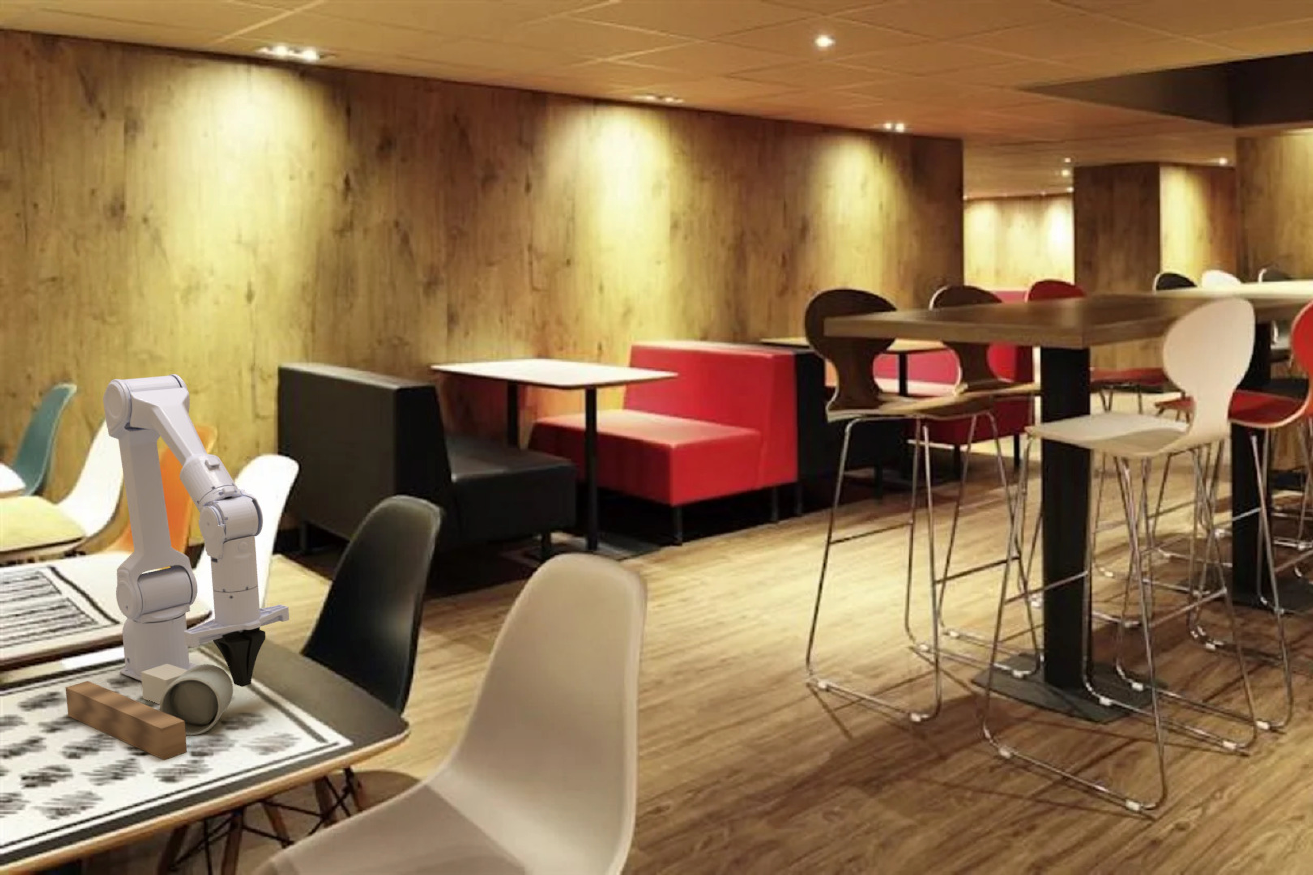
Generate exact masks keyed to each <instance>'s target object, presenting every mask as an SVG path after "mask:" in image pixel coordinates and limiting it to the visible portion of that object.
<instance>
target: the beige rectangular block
mask: <svg viewBox="0 0 1313 875" xmlns="http://www.w3.org/2000/svg"><path fill="white" fill-rule="evenodd" d="M186 671H187V670H185V669H182V668H179V667H176V666H173V665H170V664H165V665H161V666H158V667H155V668H152V669H149V670H145V671H142V672H141V680H142V681H141V689H142V690H141V691H142V698H143V699H144V700H146V701H149V700H150V701H149V702H151V701H153V702H152V703H154V702H155V704H158V705H160V700H161V698H162V695H163V693H164V691H165V690H166V689H167V687H168V686H169V685H170V684H171V683H173V682H174V681H175V680H176V679H178V678H179V677H180V676H181V675H182V674H183V673H185V672H186Z"/></svg>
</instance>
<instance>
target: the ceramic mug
mask: <svg viewBox="0 0 1313 875" xmlns="http://www.w3.org/2000/svg"><path fill="white" fill-rule="evenodd" d="M197 665H198V666H195V667H192V668H191V669H189V670H187V671H186V672H185V673H183V674H182V675H181V676H180V677H179V678H178V679H176V680H175V681H174V682H173V683H171V684H170V685H169V686H168V687H167V689H166V690H165V691H164V693H163V695H162V698H161V700H160V704H159V707H158V708H156V709H157V710H159V711H162V712H164V713H167V714H169V715H171V716H174V717H176V718H179V719H181V720H183V721H185V734H186V736H198V735H202V734H204V733H206V732H208V731H210V730H211V729H212V728H213V727H214V726H215V725H216V724H217V723H218V721H219V719H220V718H221V717H222V715H223V713H224V712H225V711H226V709H227V708H228V707H229V705H230V704H231V701H232V699H233V693H234V683H233V680H232V679H231V677H230V675H229V674H228V673H227V672H226V671H225V670H224V668H221V667H220V666H217V665H214V664H207V663H206V664H205V663H204V664H197Z"/></svg>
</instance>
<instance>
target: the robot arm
mask: <svg viewBox="0 0 1313 875" xmlns="http://www.w3.org/2000/svg"><path fill="white" fill-rule="evenodd" d="M190 400H191V399H190V393H189V390H188V386H187V384H186V382H185V381H184V380H183V379H182V377H180V376H179V375H178V374H174V373H173V374H169V375H161V376H160V375H159V376H150V377H139V378H137V377H136V378H127V379H126V378H125V379H120V378H114V379H112V380H110V382H109V383H108V384H107V387H106V388H105V392H104V393H103V395H102V403H103V409H104V415H105V417H104V418H105V422H106V428H107V432H108V433H107V434H108V436H109V437H111V438H114V439H116V440H118V448H119V453H120V460H121V467H122V474H123V481H124V482H123V483H124V486H125V487H124V488H125V495H126V496H125V497H126V500H127V501H126V502H127V509H128V515H129V523H130V529H131V537H132V543H133V552H132V553H131V554H130V555H129V556H128V557H127V558H126V559H125V560H124V561H123V562H122V563H121V564H120V565H119V566H118V567H117V568H116V578H117V579H116V580H117V581H116V590H115V597H116V598H115V599H116V602H117V606H118V608H119V610H120V612H121V614H122V615H123V616H125V618H126V619H125V621H124V624H123V627H122V631H121V632H122V642H123V655H124V666H125V667H123V668H121V669H119V674H123V675H125V676H128V677H130V678H132V679H135V680H137V681H140V682H142V680H141V672H142V671H145V670H149V669H152V668H155V667H158V666H161V665H165V664H170V665H173V666H176V667H179V668H182V669H185V670H189V669H191V668H192V667H195V666H198V665H199V664H195V663H192V662H190V653H189V647H190V648H192V649H194V648H197V647H200V646H201V645H202V644H204V643H209V642H211V641H212V642H213V644H214V645H215V646H216V647H217V649H218V650H219V652H220V654H222V657H223V659H224V661H225V663H226V665H227V667H228V669H229V672H230V675H231V678H232V679H231V680H232V683H233V685H236V686H239V687H241V688H243V687H247V686H249V685H251V684H252V678H253V674H254V669H255V665H256V662H257V657H258V656H259V655H258V654H259V652H260V650H261V648H262V646H263V644H264V642H265V640H266V636H267V635H266V631H265V630H262V629H261V627H263V626H267V625H270V624H274V623H278V622H288V621H289V620H290V612H289V611H290V610H289V606H286V605H284V604H277V605H273V606H267V607H262V608H261V606H260V593H259V591H260V590H259V580H258V579H259V578H258V564H257V551H256V550H257V549H256V537H257V536H259V535H260V534H261V532H262V529H263V525H264V517H263V511H262V509H261V505H260V504H259V502H258V499H257V498H256V497H255V496H254V495H252V494H251V493H247V492H246V491H245V489H240V488H238V486H237V484H236V482H235V481H234V479H233V478H232V476H231V475H230V473H229V471H228V470H227V468H226V466H225V465H224V462H222V460H221V458H220V457H219V456H218V455H215V454H210V453H209V454H208V453H207V450H206V449H205V446H204V444H203V442H202V440H201V437H200V435H199V434H198V431H197V430H196V428H195V424H194V423H193V421H192V419H191V417H190V415H189V412H190V407H191V406H190V404H191V402H190ZM160 438H161V439H162V441H163V442H164V443H165V444H166V445H167V447H168V449H169V450H170V451H171V452H172V454H173V455H174V457H175V458H176V460H177V461H178V463H180V465H181V466H182V468H181V470H180V473H179V480H180V481H181V483H182V485H183V486H184V488H185V490H186V492H187V494H188V495H189V497H190V498H191V500H192V502H193V503H194V505H195V507H196V508H197V510H198V512H199V520H198V527H199V531H200V533H201V536H202V539H203V542H204V549H205V552H206V556H209V558H210V569H211V583H212V585H211V586H212V596H213V597H212V598H213V609H214V618H213V619H211V620H208V621H206V622H204V623H201V624H199V625H197V626H195V627H192V628H190V629H187V628H188V626H187V617H186V616H187V615H186V614H187V613H190V612H191V608H190V607H191V606H193V604H195V602H196V598H197V596H198V583H197V578H196V576H195V573H194V571H193V569H192V565H191V561H190V557H189V556H187V555H186V554H184V553H183V552H181V551H179V550H177V549H175V548H174V547H172V542H171V541H172V540H171V535H170V534H171V533H170V528H169V520H168V512H167V507H166V500H165V499H166V498H165V493H164V492H165V491H164V486H163V479H162V477H163V476H162V471H161V463H160V458H159V451H158V449H159V448H158V444H157V443H158V440H159V439H160ZM167 567H168V568H167Z"/></svg>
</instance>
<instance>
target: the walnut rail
mask: <svg viewBox="0 0 1313 875" xmlns="http://www.w3.org/2000/svg"><path fill="white" fill-rule="evenodd" d="M65 696H66V706H67V716H68V717H70V718H72V719H74V720H76V721H79V722H80V723H83V724H85V725H87V726H90V727H92V728H94V729H95V730H97V731H100V732H102V733H103V734H107V735H109V736H111V737H113V738H116V739H118V740H120V741H122V742H124V743H126V744H128V745H131V746H132V747H135V748H137V749H139V750H142V751H144V752H146V753H148V754H150V755H153V756H155V757H156V758H159V759H161V760H163V761H165V760H169V759H172V758H174V757H176V756H180V755H182V754H185V753H187V752H188V748H187V737H186V736H187V735H186V734H185V721H183V720H181V719H179V718H176V717H174V716H171V715H169V714H167V713H164V712H162V711H159V710H157V709H158V708H154V707H152V706H149V705H148V704H147V705H146V704H145V703H142V702H140V701H137V700H135V699H133V698H131V697H128V696H125V695H123V694H121V693H118V692H115V691H113V690H110V689H108V688H106V687H104V686H101V685H98V684H96V683H94V682H92V681H89V680H85V681H83V682H80V683H75V684H72V685H69V686H66V687H65Z"/></svg>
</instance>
